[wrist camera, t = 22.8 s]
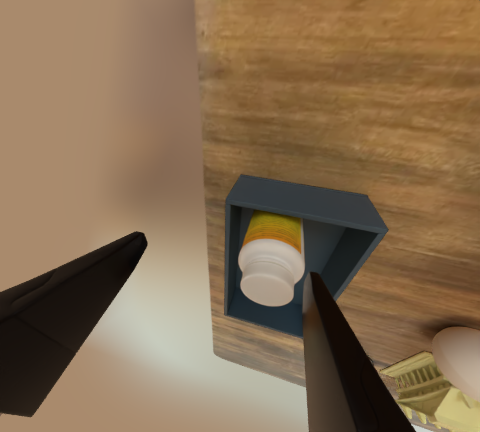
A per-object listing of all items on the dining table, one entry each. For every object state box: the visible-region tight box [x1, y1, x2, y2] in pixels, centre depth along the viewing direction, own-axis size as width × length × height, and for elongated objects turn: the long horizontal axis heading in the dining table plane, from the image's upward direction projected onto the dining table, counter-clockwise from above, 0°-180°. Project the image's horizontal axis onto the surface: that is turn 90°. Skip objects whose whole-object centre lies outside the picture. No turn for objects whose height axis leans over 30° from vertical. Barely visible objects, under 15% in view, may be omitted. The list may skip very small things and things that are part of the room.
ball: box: [432, 327, 480, 402], centre depth 22 cm, size 8×8×8 cm
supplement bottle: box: [238, 209, 305, 306], centre depth 17 cm, size 6×6×10 cm
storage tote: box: [224, 175, 389, 339], centre depth 23 cm, size 22×13×6 cm, turn 176°
